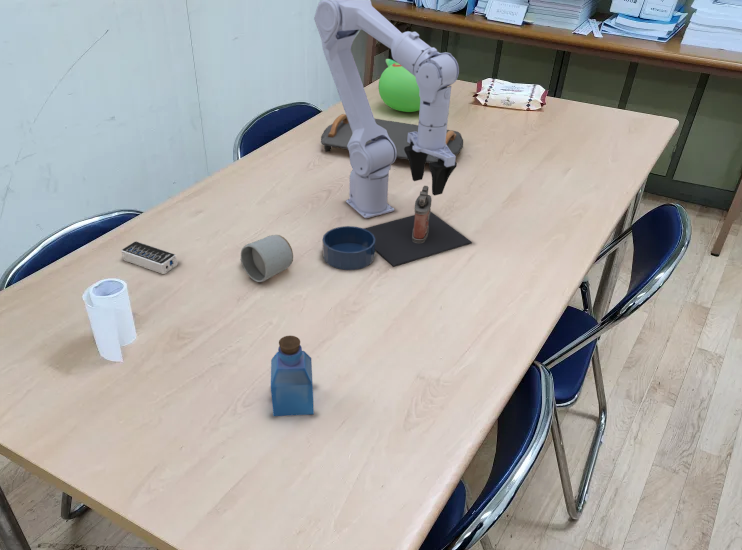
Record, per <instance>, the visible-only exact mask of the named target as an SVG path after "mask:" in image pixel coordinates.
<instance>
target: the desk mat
mask: <svg viewBox="0 0 742 550" xmlns="http://www.w3.org/2000/svg"><path fill="white" fill-rule="evenodd" d="M414 220H415V214H413V215H409V216H406V217H402V218H398V219H394V220H390V221H387V222H383V223H379V224H376V225H371V226H368V227H364V229H366V230H368V231H370V232H371V233H372V234H373V235H374V237H375V239H376V241H375V253H377V254H378V255H379V256H381V257H382V259H384V260H385V261H386V262H387V263H388V264H390V265H391V266H392V267H393V268H394V267H398V266H402V265H405V264H408V263H411V262H414V261H418V260H422V259H424V258H428V257H431V256H434V255H438V254H442V253H444V252H447V251H452V250H455V249H457V248H461V247H464V246H468V245H471V244H472V243H473V242H472V241H471V240H470V239H469V238H467V237H466V236H465V235H463V234H462V233H461V232H460V231H457V229H455V228H454V227H453V226H451V225H450V224H448V223H447V222H445V220H443V219H442V218H440V217H439V216H437V215H436V214H434V213H433V212H432V211H430V218H429V221H428V226H429V230H428V236H427V238H426V240H425V241H424V242H423V243H415V242H413V241H412V233H413V228H414Z"/></svg>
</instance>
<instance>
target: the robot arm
mask: <svg viewBox="0 0 742 550" xmlns="http://www.w3.org/2000/svg"><path fill="white" fill-rule="evenodd" d="M313 20H314V23H315V25H316V29H317V32H318V34H319V37H320V39H321V47H322V51H323V54H324V57H325V60H326V62H327V65H328V68H329V71H330V74H331V77H332V80H333V82H334V86H335V88H336V89H337V90H336V91H337V93H338V96H339V99H340V101H341V104H342V105H341V106H342V107H343V110H344V114H346V116H347V119H348V121H349V124H350V127H351V130H352V133H353V134H352V136H351V138H350V140H349V142H348V145H347V147H348V149H347V150H348V154H349V164H350V167H351V169H352V170H351V171H350V174H349V187H348V189H349V193H348V195H349V198H348V199H346V200H345V203H346V204H348V206H350V207H351V208H352V209H353V210H354V211H356V212H357V213H358V214H359V215H360V216H362V217H363V218H364V219H369V218H373V217H377V216H382V215H385V214H388V213H393V212H395V208H394V207H393V206H391V205H390V204H389V203H388V195H389V179H390V178H389V175H390V171H391V170H392V169H391V168H392V165H393V164H394V163H395V162H396V159H397V158H396V157H397V151H396V147H395V145H394V143H393V142H392V140H391V139H390V138H389V136H388V133H387V130H386V129H384V128H383V127H381V126H379V125H377V124H376V122H375V119H376V118H375V116H374V114H373V111H372V107H371V104H370V101H369V98H368V95H367V93H366V90H365V87H364V84H363V82H362V79H361V76H360V73H359V70H358V67H357V64H356V60H355V58H354V55H353V52H352V45H353V43H354V40H355V39H356V38H357V37H358V35H359V33H360V32H361V30H362V31H363V32H365V33H366V34H367V35H369V36H371V38H374V39H375V40H376V41H378V42H379V43H381V44H382V45H384V46H385V47H387V48H388V49H390V52H391V58H392V60H393V61H395V62H397V63H399V64H400V65H401V66H403V67H404V68H405V69H406V70H408V71H409V72H410V73H411V74H413V75H414V76H415V77H416V82H417V85H418V87H419V96H420V111H418V113H419V114H418V124H417V125H418V132H416V131H415V132H410V133H408V139H407V142H408V143H411V144H410V146H406V147H405V148H404V151H405V153H406V155H407V157H408V159H407V160H408V163H409V168H410V172H411V174H410V175H411V177H412V178H411V179H412V181H413V182H417V181H423V178H424V175H425V167H426V164H427V163H426V159H427V156H428V154H429V155H432V156H434V157H435V158H437V159H438V162H432V163H428V167H429V170H430V174H431V193H432V195H433V196H435V197H436V196H438V195H442V194H443V192H444V190H445V187H446V185H447V182H448V181H449V178H450V176H451V175H452V173H453V172H454V170H455V169H456V168H457V167H458V163H457V161H456V159H457V155H456V156H455V155H454V154H453V153H452V152H451V151H450V149H449V148H448V146H447V145H446V143H445V142H446V133H447V130H448V122H449V113H450V102H451V93H452V85H453V84H455V83H456V82H457V80H458V77H459V75H460V74H459V73H460V67H459V63H458V61H457V59H456V58H455V57H454V56H453V55H452V53H450V52H447V51H445V52H439V51H438V49H437V48H436V47H434V46H433V47H432V46H430V45H429V44H428V43H426V42H425V41H424V40H422V39H421V38H420V34H419V32H417V31H409V30H407V31H404V32H401V31H400V30H399V29H398V28H397V27H396V26H395V25H393V23H392V22H390V21H389V20H388V19H387V18H386V17H385V16H384V15H383V14H381V12H380V11H378V10H377V9H376V8H375V7H374V6H373V5H372V0H319V2H318V4H317V6H316V10H315V14H314V16H313ZM374 118H375V119H374ZM369 140H371V141H372V142H370V143H368V144H366V142H367V141H369Z"/></svg>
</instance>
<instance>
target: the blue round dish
mask: <svg viewBox="0 0 742 550" xmlns="http://www.w3.org/2000/svg"><path fill="white" fill-rule="evenodd" d="M364 228H365V227H364ZM364 228H363V227H360V226H352V225H345V226H338V227H334V228H332V229H330V230H328V231H326V232H325V233H324V234H323V236H322V243H321V244H322V258H323V261H324V262H325V263H326V264H327V265H328V266H330V267H333V268H334V269H338V270H343V271H355V270H361V269H364V268H366V267H369V266H370V265H371V264H373V263H374V260H375V257H376V251H375V241H376V239H375V237H374V235H373V234H372V233H371V232H370V231H368V230H366V229H364Z"/></svg>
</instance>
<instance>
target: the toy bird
mask: <svg viewBox="0 0 742 550" xmlns="http://www.w3.org/2000/svg"><path fill="white" fill-rule="evenodd" d="M385 63H386V66H387V67H386V68H385V69H384V70H383V72H382V73H381V75H380V77H379V81H378V93H379V96H380V99H381V100H382V102H383V103H384V104H385V105H386V106H387V107H389V108H391V109H392V110H395V111H398V112H404V113H416V112H419V111H420V96H419V87H418V85H417V82H416V77H415V76H414V75H413V74H411V73H410V72H409V71H408V70H406V69H405V68H404V67H403V66H401V65H400V64H399V63H397V62H396V61H395V60H394V59H391V58H385Z"/></svg>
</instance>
